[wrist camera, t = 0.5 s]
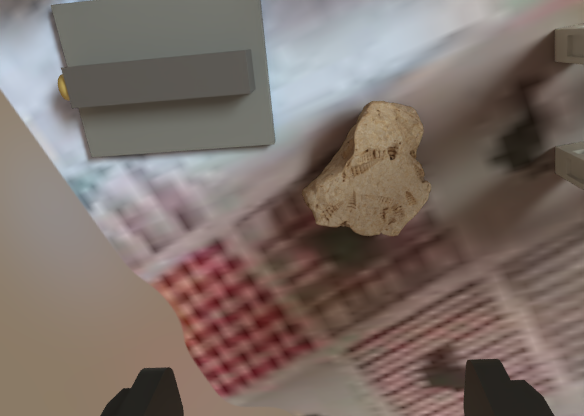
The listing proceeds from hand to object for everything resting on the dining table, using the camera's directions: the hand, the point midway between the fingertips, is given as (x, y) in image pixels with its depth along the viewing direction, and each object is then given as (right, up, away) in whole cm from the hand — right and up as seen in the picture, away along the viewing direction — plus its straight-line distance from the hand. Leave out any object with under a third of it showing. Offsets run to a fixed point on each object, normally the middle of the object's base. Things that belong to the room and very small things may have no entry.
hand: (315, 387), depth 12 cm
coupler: (-11, +16, +23) cm, 30 cm away
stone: (+5, +8, +25) cm, 27 cm away
